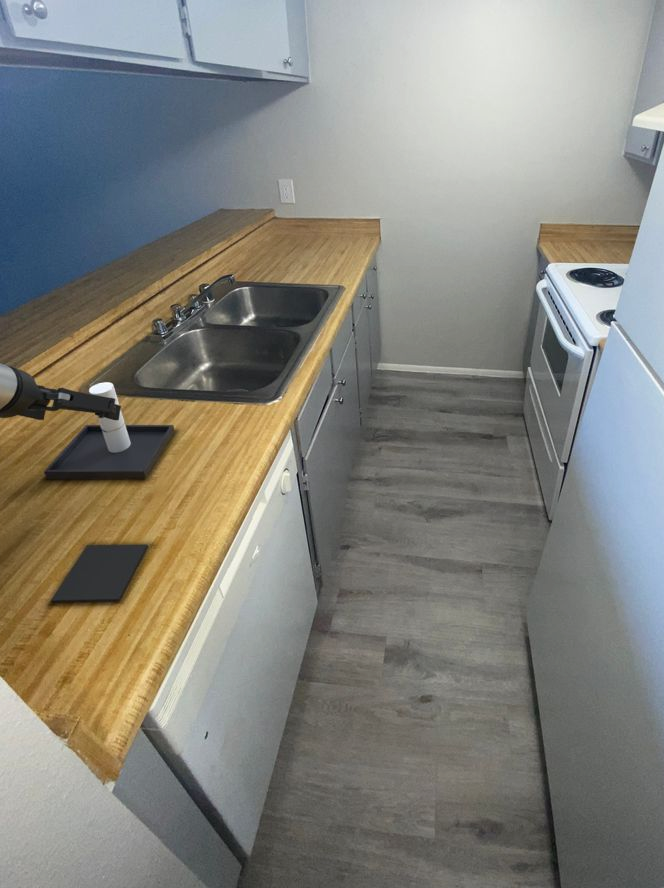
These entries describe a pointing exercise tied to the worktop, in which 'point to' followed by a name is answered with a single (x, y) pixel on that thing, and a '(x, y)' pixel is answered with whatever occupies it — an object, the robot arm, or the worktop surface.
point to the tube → (112, 429)
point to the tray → (111, 454)
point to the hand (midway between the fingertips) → (80, 413)
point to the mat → (100, 574)
